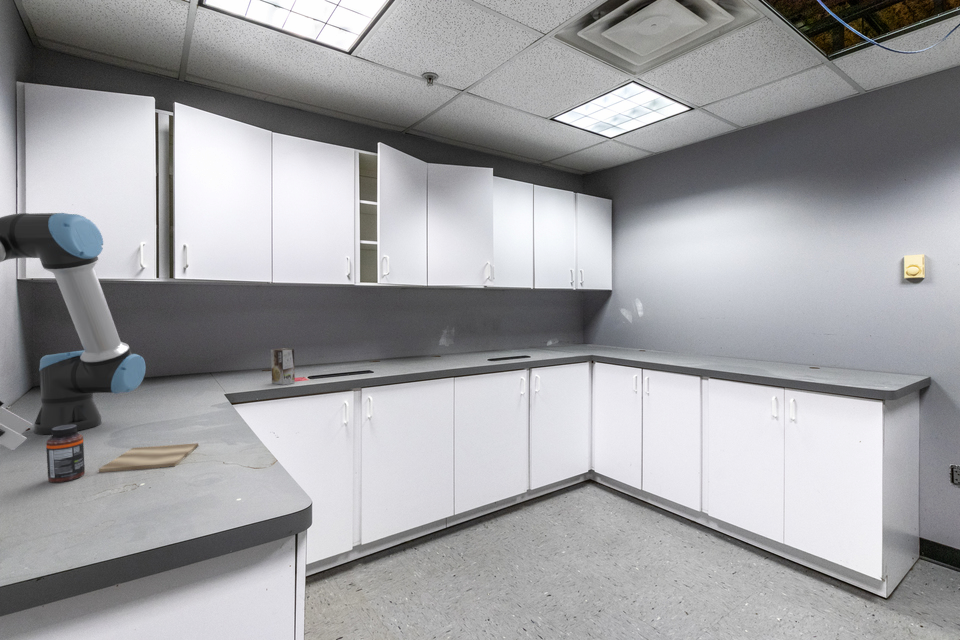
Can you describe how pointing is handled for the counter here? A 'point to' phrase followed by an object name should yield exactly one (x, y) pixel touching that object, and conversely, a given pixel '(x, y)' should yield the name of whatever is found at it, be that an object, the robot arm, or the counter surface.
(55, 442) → the supplement bottle
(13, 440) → the robot arm
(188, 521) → the counter surface
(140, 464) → the oak pad
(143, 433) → the counter surface
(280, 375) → the coffee box
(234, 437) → the counter surface
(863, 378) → the counter surface
